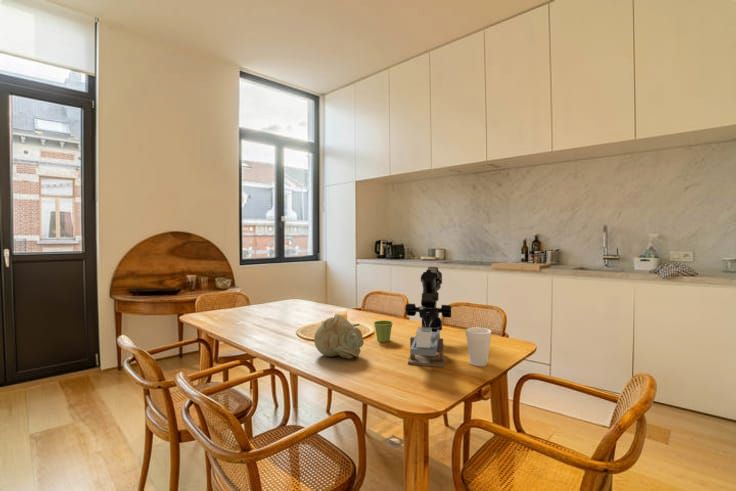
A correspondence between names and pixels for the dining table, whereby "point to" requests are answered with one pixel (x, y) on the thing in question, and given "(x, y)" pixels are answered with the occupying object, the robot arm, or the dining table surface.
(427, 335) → the white block
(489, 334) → the foam cup
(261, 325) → the dining table surface
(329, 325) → the sculpture
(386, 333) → the plant pot
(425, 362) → the seesaw stand
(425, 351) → the beam
